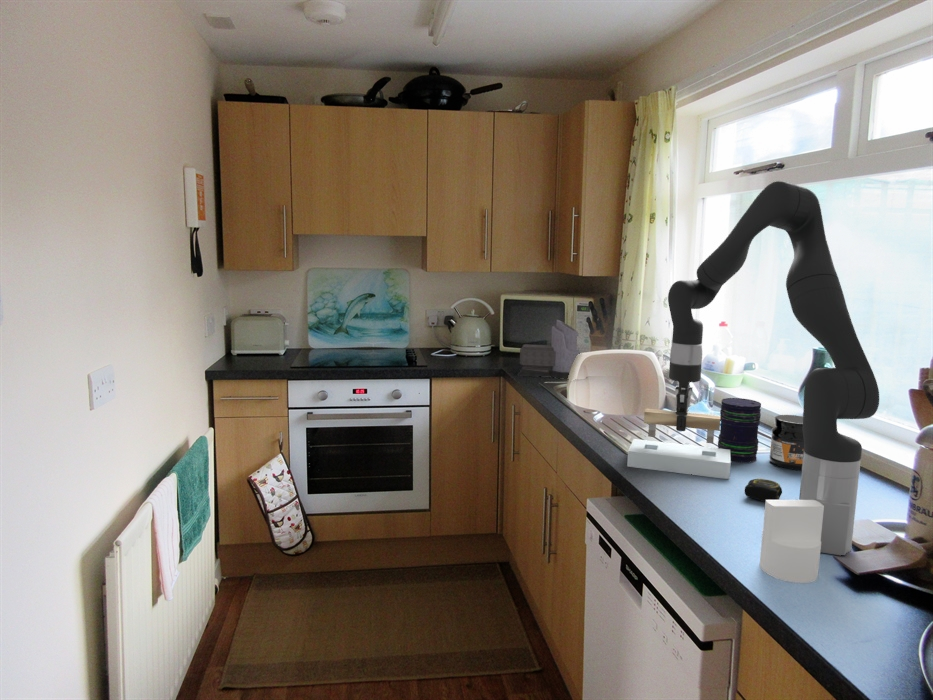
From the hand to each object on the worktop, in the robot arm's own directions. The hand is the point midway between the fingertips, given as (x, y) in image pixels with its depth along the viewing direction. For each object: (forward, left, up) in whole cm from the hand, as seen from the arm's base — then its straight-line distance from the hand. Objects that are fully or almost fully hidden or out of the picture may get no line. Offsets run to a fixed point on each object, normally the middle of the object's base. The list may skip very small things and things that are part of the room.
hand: (681, 428), depth 169 cm
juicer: (+109, +59, -10) cm, 124 cm away
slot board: (0, 0, -10) cm, 10 cm away
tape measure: (-18, -19, -10) cm, 28 cm away
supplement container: (+13, -27, -10) cm, 31 cm away
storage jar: (+14, -14, -10) cm, 22 cm away
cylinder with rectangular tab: (-52, -21, -10) cm, 57 cm away
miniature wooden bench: (0, 0, -3) cm, 3 cm away
